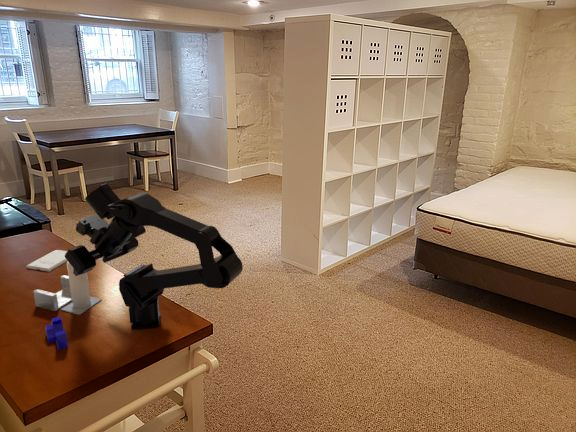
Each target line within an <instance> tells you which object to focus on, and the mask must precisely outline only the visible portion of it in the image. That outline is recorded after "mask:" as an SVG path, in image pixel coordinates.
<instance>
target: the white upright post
mask: <svg viewBox="0 0 576 432" xmlns="http://www.w3.org/2000/svg"><path fill="white" fill-rule="evenodd" d="M66 268H67V276H69V283H70V290H71V296H72V301H71V303H73V307H74V308H78V309H80V308H85V307H87V306H89V305H90V304H91V298H90V297H91V292H90V283H89V279H88V278H89V277H88V272H87V273H84V274H81V275H78V276H75V275H74V273H73V270H74V268H73V267H72V265H71V264H70V263H69V262H68V261H67V262H66Z"/></svg>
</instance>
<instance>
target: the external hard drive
mask: <svg viewBox="0 0 576 432" xmlns="http://www.w3.org/2000/svg"><path fill="white" fill-rule="evenodd" d="M67 251H68V250H61V249H55V250H53V251H51V252H49V253H47V254H45V255H43V256H42V257H40V258H38V259H36V260H35V261H32V262H30V263H28V264H27V265H26V268H27V269H31V270H37V271H38V270H39V271H43V272H48V273H49V272H51V271H52V270H53V271H54V270H55V269H56V268H59V266H62V265H63V264H65V263H67V261H68V260H67V259H66V258H65V254H66V252H67Z"/></svg>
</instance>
